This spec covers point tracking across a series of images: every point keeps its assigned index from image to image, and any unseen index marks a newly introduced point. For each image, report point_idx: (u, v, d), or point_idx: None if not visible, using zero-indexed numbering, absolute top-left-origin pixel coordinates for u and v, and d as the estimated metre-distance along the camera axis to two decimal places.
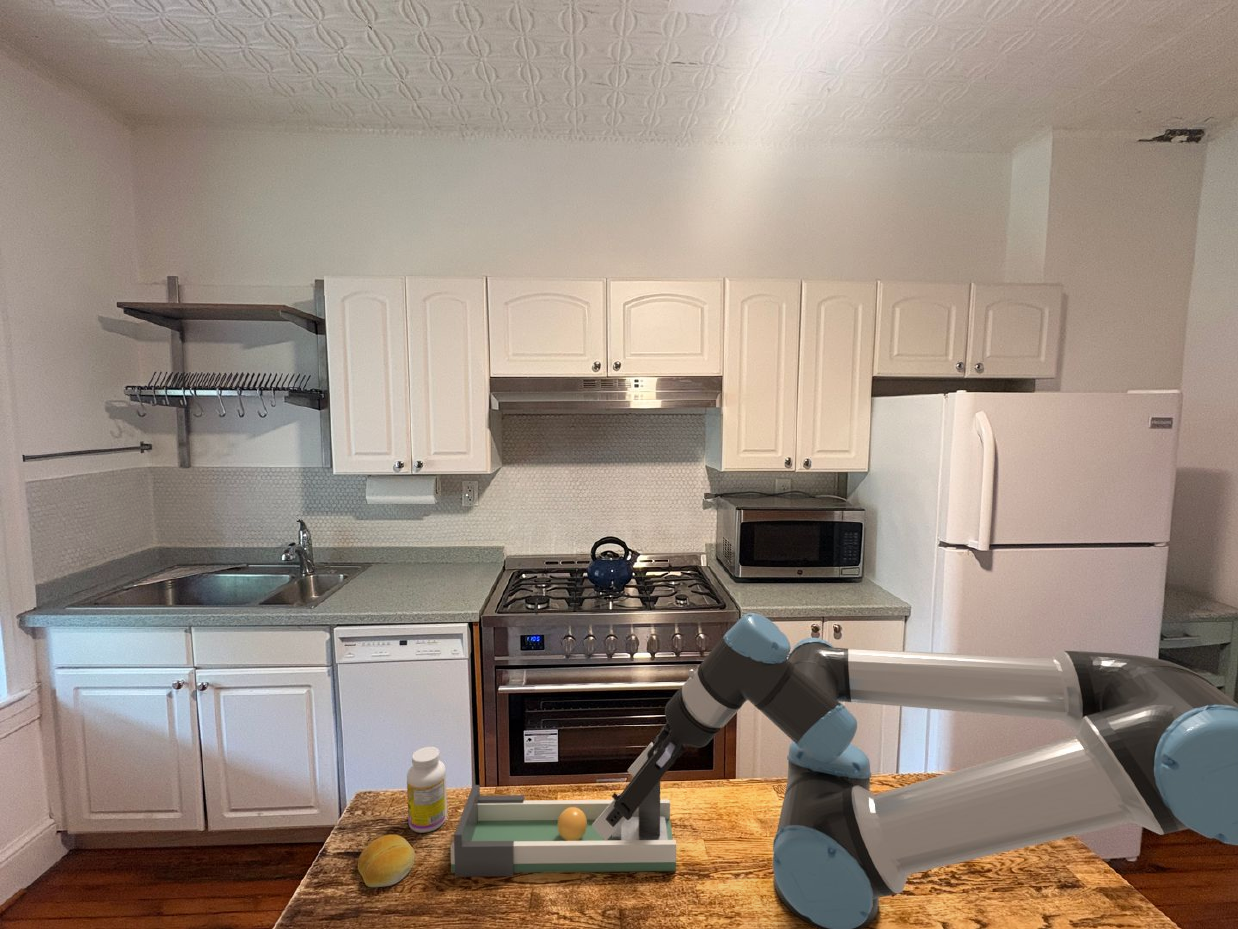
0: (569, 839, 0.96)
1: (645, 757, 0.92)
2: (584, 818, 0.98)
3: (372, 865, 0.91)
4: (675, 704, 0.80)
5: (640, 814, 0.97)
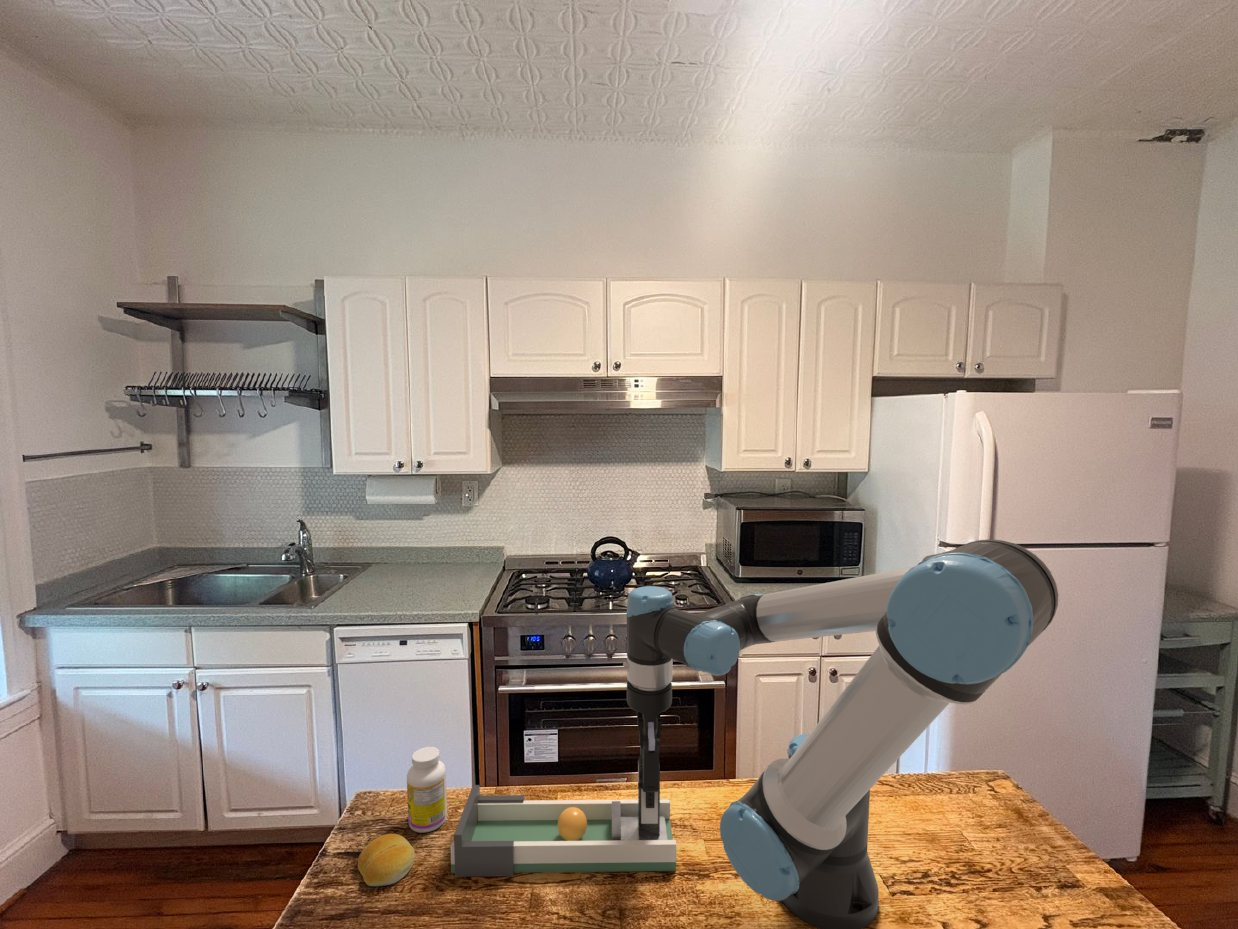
0: (569, 839, 0.96)
1: None
2: (584, 818, 0.98)
3: (372, 864, 0.91)
4: (632, 694, 0.94)
5: (640, 814, 0.97)
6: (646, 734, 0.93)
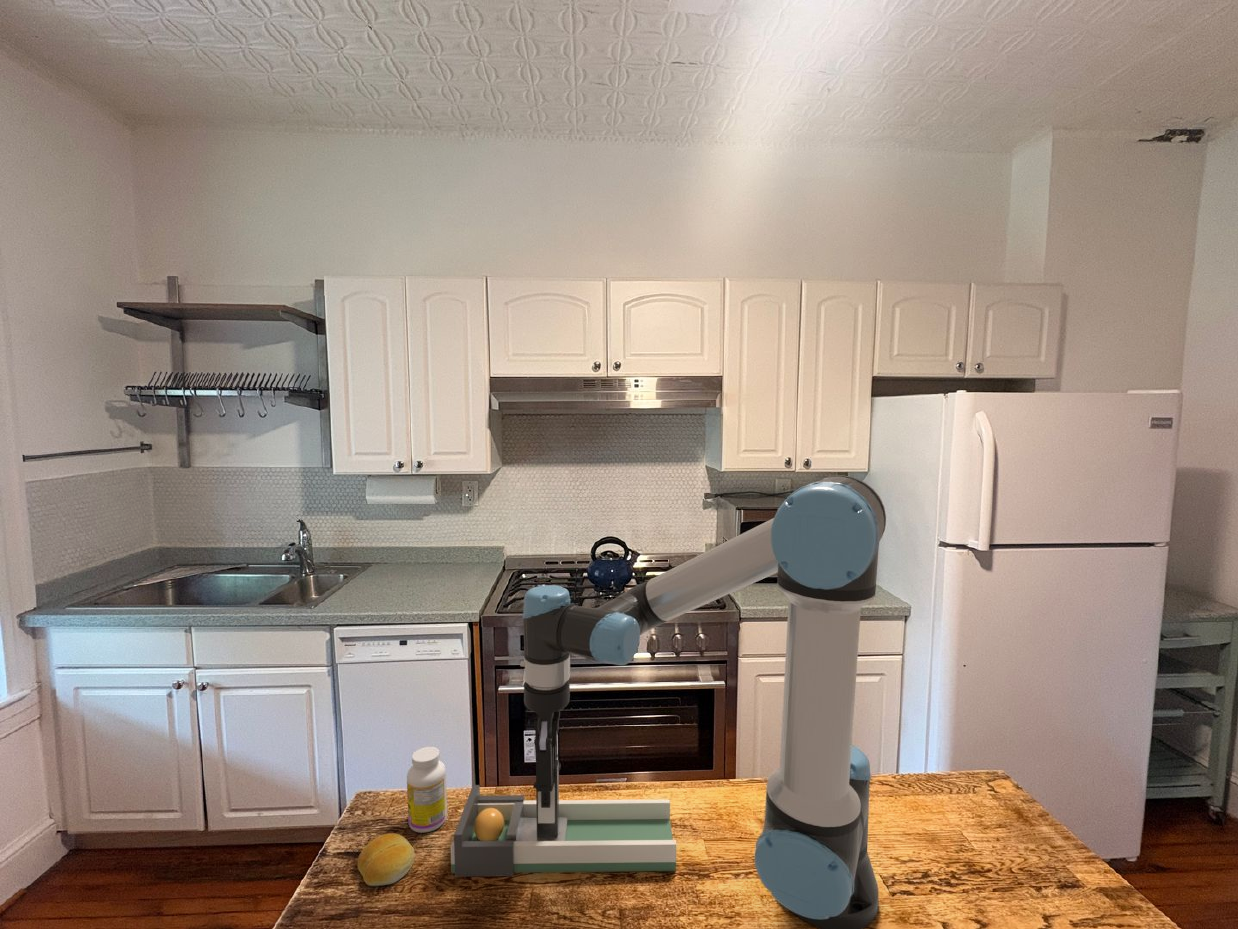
0: (480, 837, 0.96)
1: None
2: (502, 830, 0.98)
3: (372, 863, 0.91)
4: (527, 693, 0.94)
5: (537, 815, 0.97)
6: (540, 733, 0.93)
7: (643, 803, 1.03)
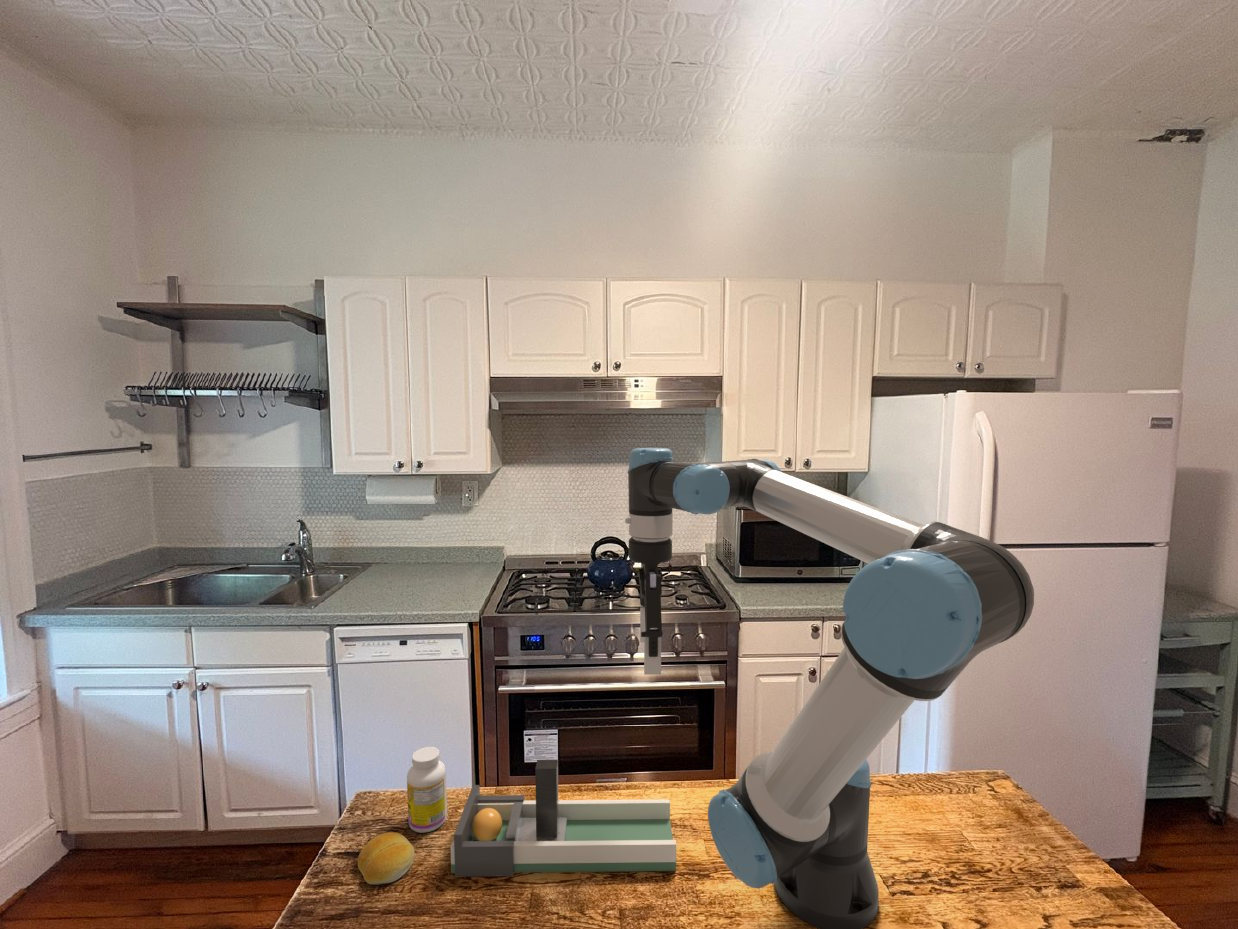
0: (479, 837, 0.96)
1: (644, 620, 1.08)
2: None
3: (372, 862, 0.91)
4: (633, 546, 0.98)
5: (537, 815, 0.97)
6: None
7: (643, 803, 1.03)
